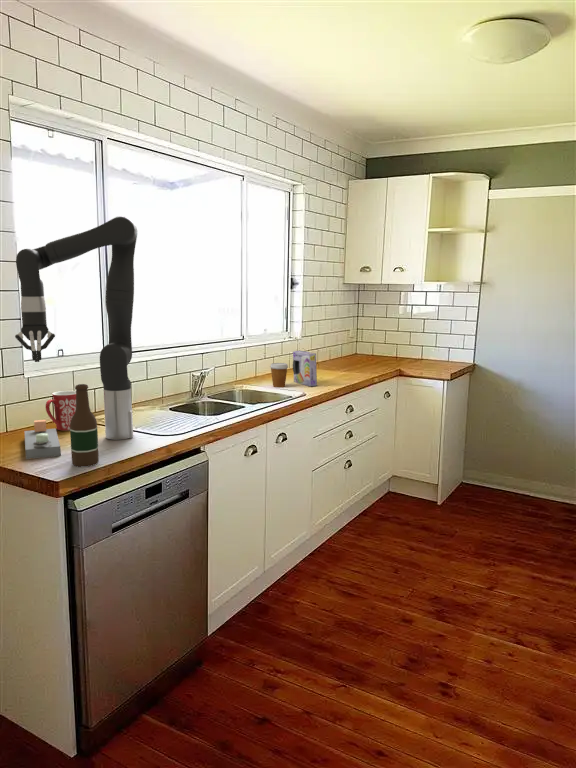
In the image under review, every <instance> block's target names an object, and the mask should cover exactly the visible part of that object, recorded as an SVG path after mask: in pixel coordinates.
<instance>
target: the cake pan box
mask: <svg viewBox="0 0 576 768" xmlns="http://www.w3.org/2000/svg"><path fill="white" fill-rule="evenodd" d="M292 372H293V383H296V384H300V385H303V386H307V387H317V385H318V381H317V379H318V378H317V377H318V375H317V353H314V352H310V351H304V350H294V351H292Z"/></svg>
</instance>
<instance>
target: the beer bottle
mask: <svg viewBox="0 0 576 768" xmlns="http://www.w3.org/2000/svg"><path fill="white" fill-rule="evenodd" d="M88 389H89V386H88V384H87V383H86V384H85V383H81V384H80V383H79V384H76V385H75V386H74V390H76V410H75V414H74V415H73V417H72V419H71V422H70V430H69V432H70V433H69V434H70V450H71V451H70V453H71V462H72V463H71V464H72V465H73V466H75V467H77V466H78V468H82V467H81V466H88V467H91V465H92V466H95V464H96V465H97V464H98V463H99V455H100V453H99V434H98V433H99V432H98V422H97V419H96V416H95V414H94V413H93V411H91V407H90V401H89V392H88V391H89V390H88Z"/></svg>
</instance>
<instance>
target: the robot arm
mask: <svg viewBox="0 0 576 768" xmlns="http://www.w3.org/2000/svg"><path fill="white" fill-rule="evenodd" d="M137 240H138V227H137V225H136V224H135V222H134V221H133V220H131V219H130V218H128V217H126V216H122V215H121V216H120V215H118V216H115V217H113V218H111V219H109V220H108V221H106V222H104V223H102V224H99V225H98V226H96V227H93V228H92V229H88V230H86V231H83V232H78V233H76V234H72V235H67V236H65V237H62V238H58V239H56V240H52V241H50V242H47V243H46V244H45V245H43V246H39V247H36V248H33V249H31V248H24V249H21V250H20V251H18V253H17V254H16V259H15V264H16V265H15V266H16V269H17V270H16V271H17V275H18V279H19V282H20V297H21V299H20V311H21V323H22V325H21V328H20V332H18V333H17V334H15V336H14V337H15V339H16V340H17V341H18V343H20V344H21V346H23V347H24V348H25V349H26V350H29V351H31V358H32V359H31V360H32V361H34V363H39V362H40V361H41V360H42V351H43V350H44V349H45V350H46V349H47V348H48V346H49V345H50V344H51V342H52V341H53V340H54V339H55V338H56V334H55V333H53V332H51V331H50V330H49V328H48V323H47V307H46V300H45V289H44V283H43V280H42V279H41V275H40V270H43V269H46V268H48V267H50V266H53V265H54V264H59V263H62V262H66V261H68V260H72V259H74V258H77V257H80V256H82V255H85V254H86V253H89V252H91V251H93V250H97V249H99V248H102V247H107V246H111V261H110V266H109V271H108V275H107V279H106V283H105V310H106V314H107V318H108V322H109V337H108V344H106V345H104V346H103V347H102V348H101V351H100V352H99V353H100V354H99V369H100V370H99V371H100V380H101V383H102V386H103V387H102V388H103V405H104V410H103V411H104V427H105V438H106V439H108V440H114V441H116V440H117V441H118V440H126V439H132V438H133V436H134V424H133V421H134V418H133V407H132V405H133V404H132V383H131V380H130V378H129V376H128V375H129V374H128V365H129V364H130V363H131V361H132V358H133V344H132V322H133V311H134V300H135V299H134V296H135V267H134V266H135V265H134V260H135V251H136V244H137ZM24 337H25V338H26V339H27V340H28V341H30V345H29V344H28V343H27V342H26V340H24ZM45 337H47V339H46V341H45V342H44V343H43V344H42V340H43V339H44V338H45ZM35 341H36V342H35ZM35 343H36V344H35Z"/></svg>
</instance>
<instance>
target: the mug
mask: <svg viewBox="0 0 576 768" xmlns="http://www.w3.org/2000/svg"><path fill="white" fill-rule="evenodd" d="M51 395H52V399H48V400H47V401H46V403H45V412H46V414H47V416H48V418H49V419H51V421H52V422H53V423H54V424H55V425H56V426H55V427H56V431H70V422H71V419H72V417H73V415H74V414H75V410H76V391H75V390H61V391H55V392H52V393H51ZM51 403H53V407H54V415H53V414H52V412H51V409H50V406H51ZM54 416H55V417H54Z"/></svg>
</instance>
